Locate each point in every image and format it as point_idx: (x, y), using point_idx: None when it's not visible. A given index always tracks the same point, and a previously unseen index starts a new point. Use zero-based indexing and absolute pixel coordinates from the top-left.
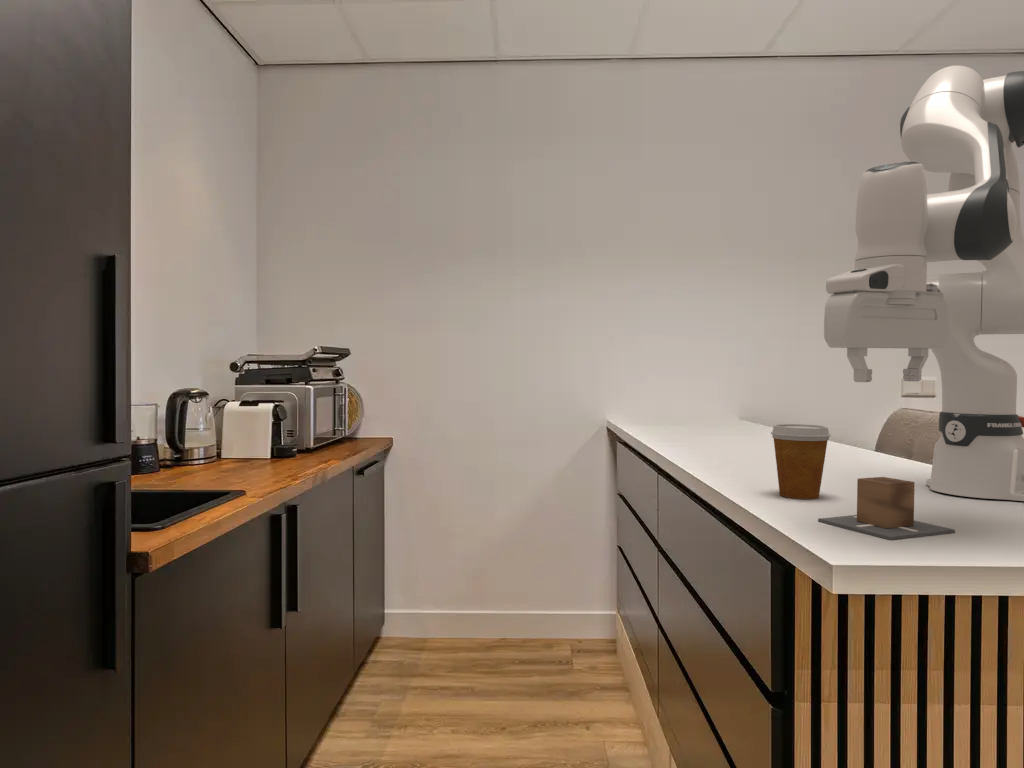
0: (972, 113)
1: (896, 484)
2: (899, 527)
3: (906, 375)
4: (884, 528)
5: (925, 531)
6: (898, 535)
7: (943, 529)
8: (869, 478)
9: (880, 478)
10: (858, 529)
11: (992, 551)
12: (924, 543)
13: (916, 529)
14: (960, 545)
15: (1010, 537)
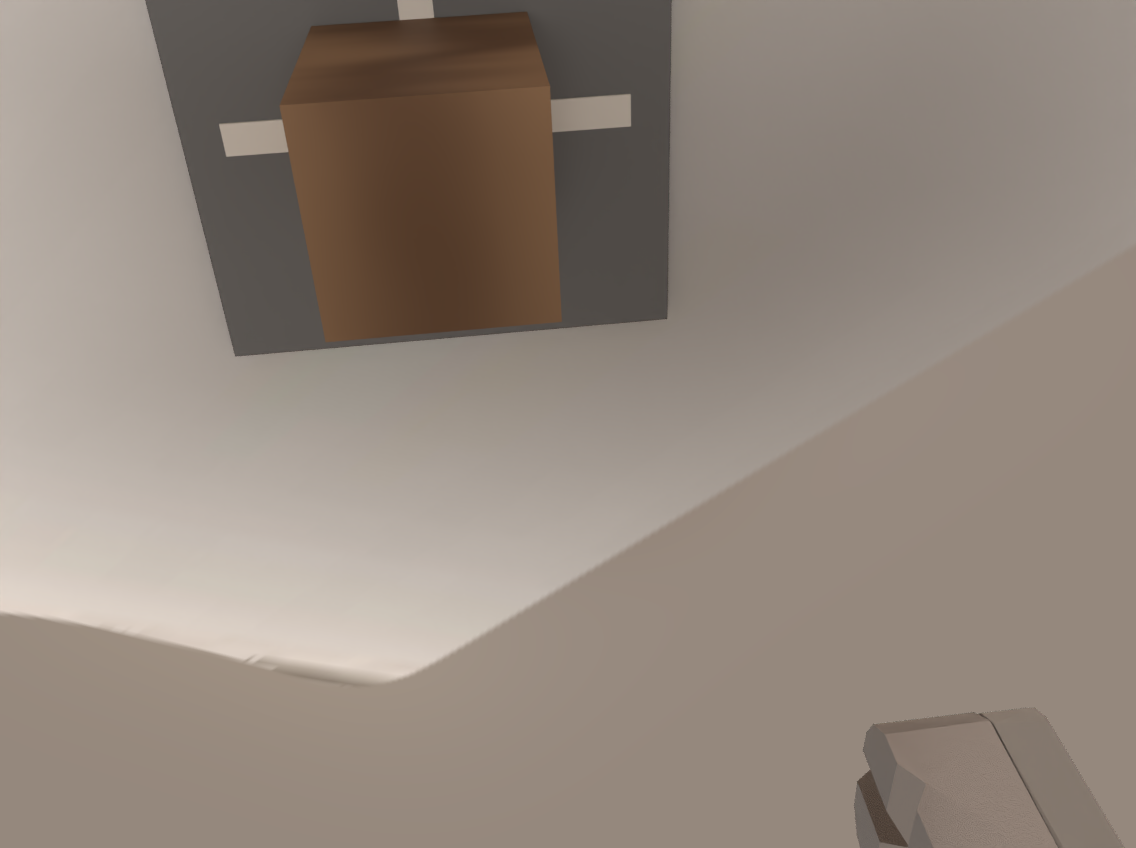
0: None
1: (398, 334)
2: None
3: (903, 815)
4: None
5: None
6: (294, 344)
7: (616, 304)
8: (379, 123)
9: (459, 148)
10: (192, 180)
11: (506, 556)
12: (350, 420)
13: None
14: (471, 474)
15: (803, 427)
